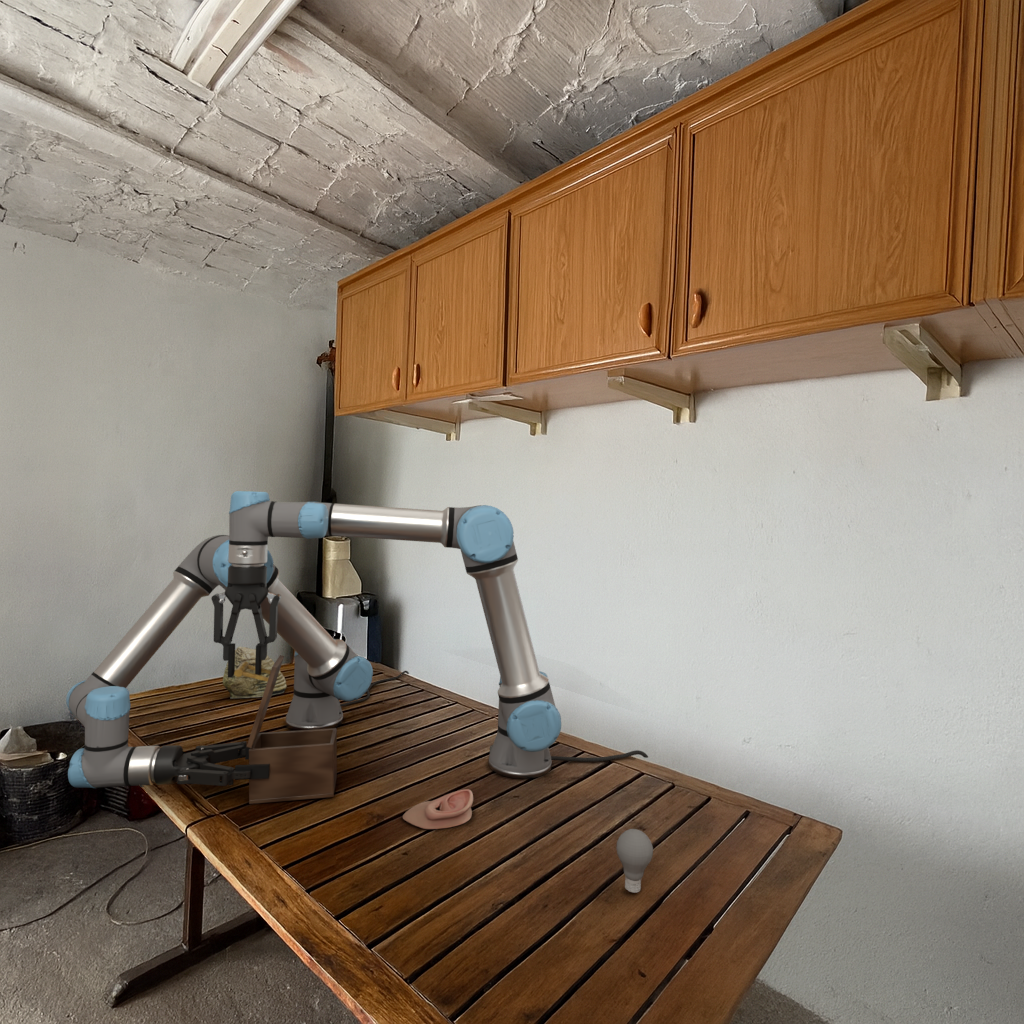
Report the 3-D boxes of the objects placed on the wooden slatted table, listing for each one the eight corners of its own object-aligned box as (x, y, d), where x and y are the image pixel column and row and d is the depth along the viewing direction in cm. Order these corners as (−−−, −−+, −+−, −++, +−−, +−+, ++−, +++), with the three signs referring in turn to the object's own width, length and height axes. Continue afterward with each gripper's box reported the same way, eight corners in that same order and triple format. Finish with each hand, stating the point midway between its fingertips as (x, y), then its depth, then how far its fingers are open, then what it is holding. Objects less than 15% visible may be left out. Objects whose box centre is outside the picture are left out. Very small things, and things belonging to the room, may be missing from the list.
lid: (284, 656, 139) (247, 646, 137) (277, 667, 130) (237, 657, 128) (260, 731, 138) (223, 722, 137) (251, 748, 129) (211, 739, 128)
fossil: (218, 695, 195) (220, 647, 195) (278, 685, 208) (279, 640, 207) (228, 703, 189) (230, 653, 188) (289, 692, 201) (290, 645, 201)
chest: (336, 777, 142) (336, 727, 142) (333, 797, 133) (333, 744, 132) (258, 783, 139) (257, 733, 138) (249, 804, 129) (248, 750, 129)
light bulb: (610, 879, 108) (613, 822, 108) (644, 879, 109) (647, 822, 109) (619, 902, 102) (622, 840, 102) (655, 901, 103) (658, 840, 103)
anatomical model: (397, 804, 123) (417, 779, 135) (396, 824, 123) (417, 798, 135) (462, 814, 121) (478, 788, 132) (462, 835, 121) (477, 807, 132)
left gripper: (174, 761, 141) (280, 757, 145) (137, 809, 119) (263, 803, 124) (176, 727, 141) (282, 725, 145) (138, 769, 119) (264, 765, 124)
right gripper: (197, 566, 127) (194, 681, 127) (289, 567, 131) (286, 679, 131) (207, 562, 134) (204, 671, 135) (294, 563, 138) (291, 669, 138)
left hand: (273, 761), depth 135 cm, fingers closed on chest, 9 cm apart
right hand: (244, 675), depth 133 cm, fingers open, 5 cm apart
